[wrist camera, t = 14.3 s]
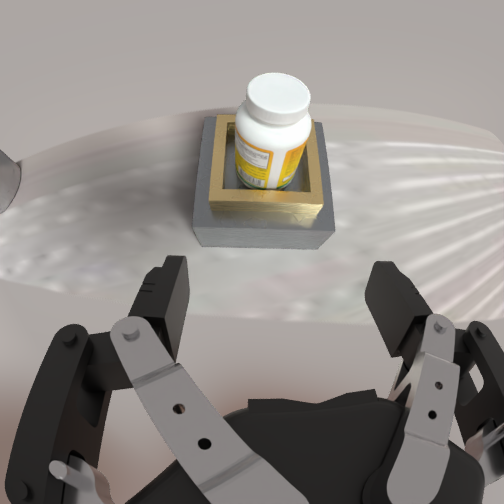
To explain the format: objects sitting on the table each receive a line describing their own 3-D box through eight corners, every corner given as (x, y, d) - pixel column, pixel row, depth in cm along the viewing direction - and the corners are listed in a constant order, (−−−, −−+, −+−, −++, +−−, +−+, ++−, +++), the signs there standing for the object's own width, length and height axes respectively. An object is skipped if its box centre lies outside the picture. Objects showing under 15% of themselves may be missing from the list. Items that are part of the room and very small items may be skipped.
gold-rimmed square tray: (201, 246, 28) (187, 218, 21) (210, 149, 31) (203, 104, 24) (317, 249, 29) (343, 223, 21) (309, 153, 32) (326, 110, 24)
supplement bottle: (238, 197, 23) (238, 123, 14) (232, 146, 25) (231, 67, 15) (300, 192, 24) (331, 121, 14) (289, 143, 25) (309, 67, 16)
